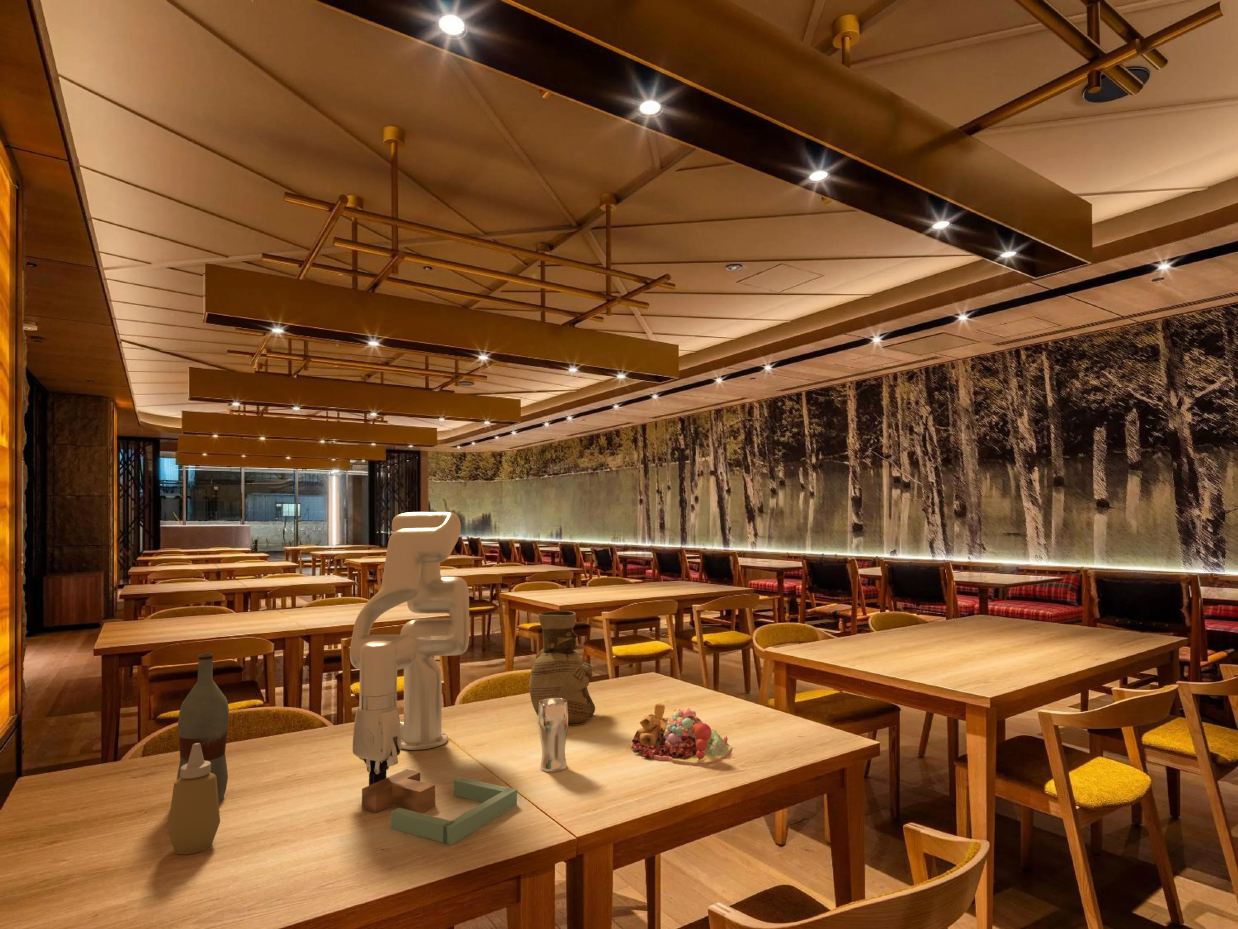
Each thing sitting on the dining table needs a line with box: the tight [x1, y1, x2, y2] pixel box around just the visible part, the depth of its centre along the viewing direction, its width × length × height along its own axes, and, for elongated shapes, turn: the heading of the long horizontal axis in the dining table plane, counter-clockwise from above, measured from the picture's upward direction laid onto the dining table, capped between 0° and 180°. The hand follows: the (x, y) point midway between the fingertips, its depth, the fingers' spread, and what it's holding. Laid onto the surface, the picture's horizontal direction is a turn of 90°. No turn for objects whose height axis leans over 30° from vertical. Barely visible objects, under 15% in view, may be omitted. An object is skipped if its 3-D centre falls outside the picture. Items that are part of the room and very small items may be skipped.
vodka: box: [176, 652, 230, 802], centre depth 144 cm, size 9×9×30 cm
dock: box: [390, 776, 518, 846], centre depth 134 cm, size 15×19×3 cm
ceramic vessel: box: [528, 610, 596, 726], centre depth 199 cm, size 19×21×30 cm
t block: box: [361, 768, 436, 814], centre depth 140 cm, size 12×12×4 cm
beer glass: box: [537, 698, 569, 773], centre depth 159 cm, size 7×7×15 cm
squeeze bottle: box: [167, 743, 221, 855], centre depth 123 cm, size 8×8×18 cm
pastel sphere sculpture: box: [630, 702, 732, 767], centre depth 172 cm, size 25×24×9 cm
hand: (377, 790), depth 144 cm, fingers closed
